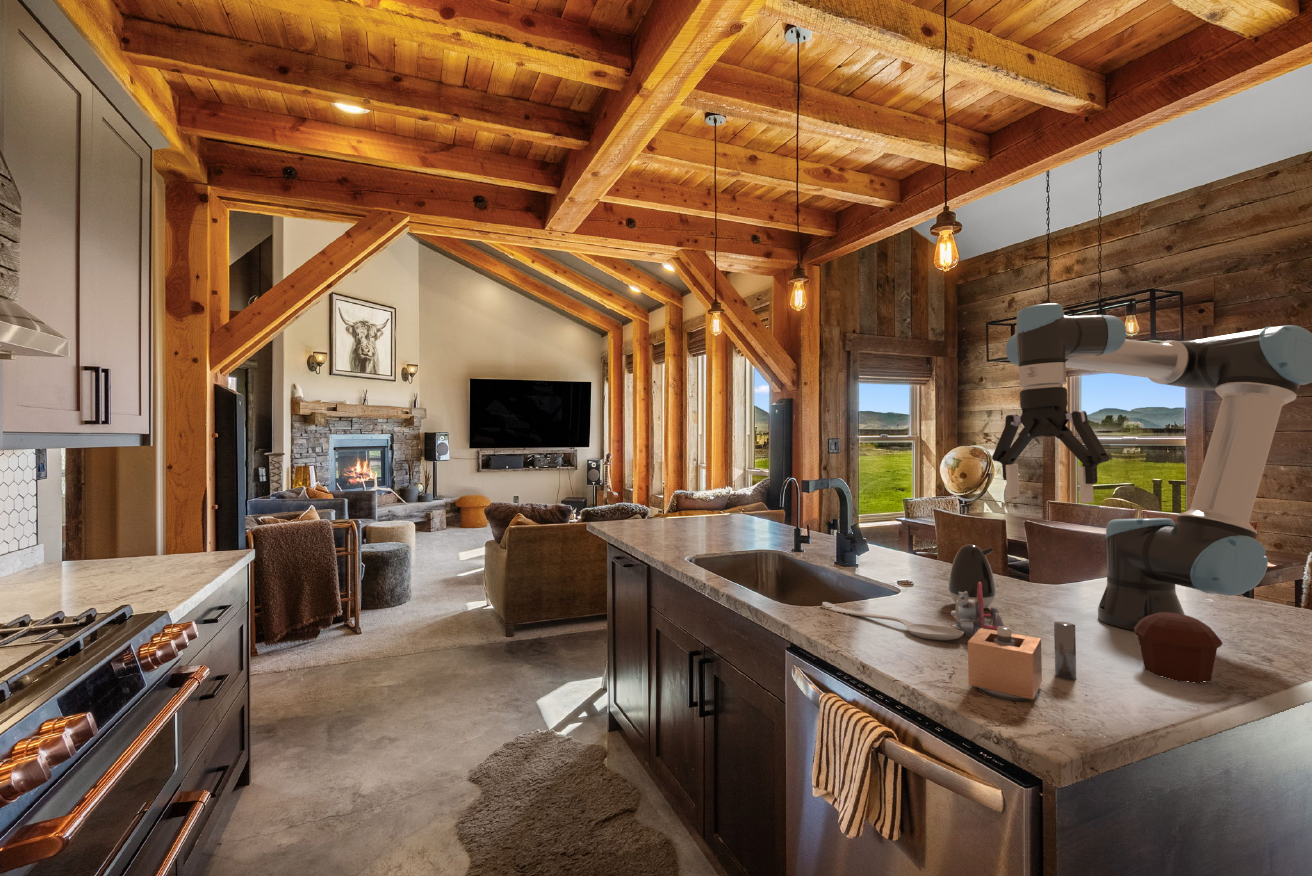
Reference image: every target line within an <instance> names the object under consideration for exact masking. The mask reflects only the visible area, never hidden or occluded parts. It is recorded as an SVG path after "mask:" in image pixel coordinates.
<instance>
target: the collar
mask: <svg viewBox="0 0 1312 876" xmlns="http://www.w3.org/2000/svg"><path fill="white" fill-rule="evenodd" d="M994 638H997V631H995V630H989V629H983V628H980V629H979V630H978V631H977V632H976V633H975V634H974V636H973V637H972V638H969V640H968V641H967V666H968V671H967V673H968V685H969V686H972V687H975V686H976V687H981V688H985V689H990V690H994V691H998V692H1003V693H1007V694H1011V695H1016V696H1020V697H1025V698H1029V699H1034V697H1035V695H1036V693H1037V690H1038V691H1039V688H1040V686H1041V684H1042V681H1043V673H1042V672H1043V670H1042V669H1043V668H1042V667H1043V662H1042V638H1041V637H1035V636H1028V635H1024V634H1017V633H1012V632H1011V639H1012V640H1014V641H1015V647H1014V646H1009V645H1003V644H998V643H994ZM976 687H975V688H976ZM1034 700H1035V699H1034Z"/></svg>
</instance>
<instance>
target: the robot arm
mask: <svg viewBox="0 0 1312 876" xmlns="http://www.w3.org/2000/svg"><path fill="white" fill-rule="evenodd" d="M1015 328H1016V331H1015V333H1014V334H1013V335H1012V336H1010V337H1009V339H1007V341H1006V346H1005V355H1006V358H1007V359H1008V360H1009V362H1010V363H1012V364H1013V365H1015V366H1017V367H1018V380H1019V382H1018V383H1019V387H1020V388H1023V389H1022V390H1021V389H1020V390H1021V391H1020V392H1019V402H1020V403H1019V405H1020V406H1019V407H1020V409H1021V415H1018V414H1007V415H1006V416H1005V420H1004V422H1005V423H1004V427H1003V431H1002V433H1001V435H1000V438H999V440H998V442H997V445H996V447H995V449H994V452H993V455H992V456H991V459H992V461H993V462H998V463H1000V464H1001V466H1002V469H1001V470H1002V478H1003V481H1006V496H1007V498H1010V499H1011V498H1019V497H1020V496H1021V495H1020V493H1021V492H1020V477H1019V476H1020V474H1019V463H1017V462H1016V460H1017V459H1018V458H1019V456H1020V455H1021V454H1022V452H1023V451H1024V450H1025V449H1026V447H1027V446H1028V445H1029V444H1030V442H1031V441H1032V440H1034V439H1035V438H1040V437H1044V438H1045V437H1046V438H1048V437H1050V438H1051V437H1055V439H1056V438H1057V439H1059V441H1060V442H1062V443H1063V445H1064V446H1065V447H1066V448H1067V449H1068V450H1069V451H1070V453H1072V454H1073V456H1075V457H1076V458H1077V459H1078V460H1079V462H1081V465H1079V466H1078V485H1079V486H1078V489H1079V504H1087V503H1093V502H1095V501H1094V485H1095V484H1098V466H1099V465H1100V464H1103V463H1106V462H1109V461H1110V457H1109V455H1108V453H1107V451H1106V450H1105V448H1104V446H1103V445H1102V443H1101V441H1100V440H1099V438H1098V437H1097V436H1098V435H1097V434H1096V433H1095V432H1094V430H1093V428H1092V427H1091V424H1090V423H1089V419H1088V414H1087V411H1085V410H1073V411H1072V412H1068V410H1067V407H1068V405H1069V404H1068V401H1069V400H1068V389H1067V388H1066V387H1065V386H1064V385H1066V384H1067V383H1068V382H1067V368H1068V369H1074V370H1082V371H1083V370H1084V371H1092V372H1098V373H1099V372H1101V373H1108V374H1116V375H1124V376H1130V377H1131V376H1132V377H1138V378H1139V377H1141V378H1148V379H1149V381H1151V382H1153V383H1156V384H1158V385H1167V386H1172V387H1173V386H1174V387H1178V388H1179V387H1180V388H1188V389H1195V390H1201V391H1202V390H1203V391H1214V392H1215V393H1216V394H1217V395H1218V396H1219V397H1220V398H1221V403H1220V405H1219V406H1220V407H1219V410H1218V413H1217V417H1216V420H1215V423H1214V427H1213V431H1212V434H1211V437H1210V441H1209V444H1208V447H1207V451H1206V453H1205V454H1206V455H1205V458H1204V461H1203V464H1202V468H1201V471H1200V475H1199V479H1198V481H1197V484H1196V488H1195V492H1194V496H1193V499H1192V501H1191V502H1192V503H1191V505H1190V508H1189V509H1188V510H1186V511H1185V512H1182V513H1179V514H1178V515H1177V518H1176V520H1175V521H1174V520H1173V519H1172V518H1166V517H1156V518H1155V517H1153V518H1151V517H1149V518H1117V519H1116V518H1115V519H1111V520H1109V521H1108V522H1107V524H1106V527H1105V529H1106V530H1105V536H1104V539H1105V559H1106V561H1105V562H1106V586H1105V589H1104V591H1103V594H1102V597H1101V600H1100V602H1099V604H1098V607H1097V618H1098V620H1099V621H1101V622H1103V623H1104V624H1108V625H1110V626H1113V627H1116V628H1121V629H1124V630H1130V631H1134V627H1135V626H1136V625H1137V623H1138V622H1139V621H1140V620H1141V619H1142V618H1144V617H1146V616H1149V615H1152V614H1155V613H1160V612H1170V613H1178V614H1183V615H1186V614H1185V611H1184V609H1183V607H1182V604H1181V602H1180V600H1179V598H1178V595H1177V592H1176V585H1177V586H1182V587H1186V588H1190V589H1193V590H1198V591H1201V592H1203V593H1206V594H1210V595H1211V594H1217V595H1222V596H1225V597H1226V596H1229V597H1232V596H1240V595H1243V594H1245V593H1246V592H1250V591H1252V590H1253V589H1254V588H1255V587H1257V586H1258V585H1259V584H1260V583H1261V582H1262V580H1263V578H1264V577H1265V574H1266V573H1267V569H1268V564H1269V563H1268V562H1269V560H1268V557H1267V556H1266V553H1267V551H1266V548H1265V547H1264V546H1263V544H1262V543H1260V541H1258V540H1256V538H1257V536H1258V531H1257V530H1256V529H1255V528H1254V527H1253V526H1252V525H1251V523H1250V518H1251V516H1252V513H1253V509H1254V507H1255V501H1256V498H1257V495H1258V491H1259V487H1260V485H1261V482H1262V481H1261V480H1262V478H1263V474H1264V470H1265V467H1266V465H1267V460H1268V457H1269V453H1270V450H1271V447H1272V443H1273V439H1274V437H1275V432H1276V429H1277V425H1278V422H1279V418H1280V415H1281V411H1282V408H1283V407H1284V406H1285V405H1287V404H1289V403H1291V402H1293V401H1295V400H1296V399H1297V396H1298V393H1299V390H1300V386H1305V385H1308V384H1311V383H1312V332H1310V331H1309V330H1308V329H1306V328H1304V327H1302V326H1299V325H1292V324H1288V325H1279V326H1278V325H1277V326H1266V327H1264V328H1261V329H1254V330H1248V331H1242V332H1236V333H1231V334H1224V335H1216V336H1211V337H1206V338H1198V339H1194V340H1172V339H1171V340H1164V341H1161V342H1159V343H1157V342H1150V341H1143V340H1134V339H1127V327H1126V324H1125V323H1124V321H1123V320H1122V319H1121V318H1119V316H1115V315H1107V314H1106V315H1104V314H1102V313H1100V314H1097V315H1095V314H1094V315H1071V316H1070V315H1065V312H1064V307H1063V305H1062V304H1059V303H1056V302H1055V303H1041V304H1035V305H1031V306H1027V307H1024V308H1022V309H1020V310H1019V311H1018V312H1017V315H1016V327H1015ZM1068 422H1070V423H1071V424H1072V425H1073V427H1074V428H1075V431H1076V432H1077V434H1078V436H1079V437H1080V439H1081V441H1082V442H1081V441H1080V440H1079V439H1078V438H1077V437H1076V436H1075V435H1074V434H1073V433H1074V432H1073V431H1072V430H1071V429H1070V428H1069V427H1068V426H1067V424H1068ZM1020 425H1023V428H1022V429H1021V431H1020V432H1019V433H1018V437H1017V438H1016V439H1015V437H1016V434H1017V432H1018V430H1019V426H1020ZM1014 439H1015V441H1014ZM1082 443H1083V444H1082Z"/></svg>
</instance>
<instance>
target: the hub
mask: <svg viewBox="0 0 1312 876" xmlns="http://www.w3.org/2000/svg"><path fill="white" fill-rule="evenodd" d="M1011 633H1012V628H1011V627H1008V626H1005V625H1004V626H999V627H997V638H994V643H998V644H1003V645H1009V646H1014V647H1015V641H1014V640H1012V639H1011ZM974 687H975V689H976V690H978V691H979V692H981V693H983V695H984V694H985V695H987V696H990V697H992V698H996V699H1000V700H1006V701H1011V702H1029V701H1033V700H1034V701H1035V700H1036V699H1037V698H1038V697H1039V689H1038V690H1037V693H1036V695H1035V697H1034V699H1029V698H1025V697H1020V696H1016V695H1011V694H1007V693H1003V692H998V691H994V690H990V689H985V688H981V687H976V686H974Z"/></svg>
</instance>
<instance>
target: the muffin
mask: <svg viewBox="0 0 1312 876" xmlns="http://www.w3.org/2000/svg"><path fill="white" fill-rule="evenodd" d="M1133 631H1134V632H1135V634H1136V636H1137V637H1138V644H1139V647H1140V653H1141V656H1142V657H1141V658H1142V663H1143V667H1144V670H1145V671H1147V672H1150V673H1152V675H1155V676H1156V675H1157V676H1156V677H1160V676H1163V677H1162V678H1164V677H1166V678H1165V679H1168V678H1170V679H1169V680H1171V679H1173V680H1172V681H1175V680H1177V681H1176V682H1181V681H1189V682H1188V683H1191V682H1195V683H1194V684H1201V683H1200V682H1203V681H1212V677H1213V671H1214V668H1215V667H1214V665H1215V661H1216V655H1217V649H1218V648H1220V647H1221V646H1223V645H1224V644H1223V642H1222V640H1221V639H1220V637H1219V636H1218V635H1217V634H1216V632H1215V631H1214V630H1213V629H1212V628H1211V627H1210V626H1209V625H1207V624H1206V623H1204V622H1203V621H1201V620H1199V619H1197V618H1195V617H1193V616H1190V615H1186V614H1185V615H1183V614H1178V613H1170V612H1160V613H1155V614H1152V615H1149V616H1146V617H1144V618H1142V619H1141V620H1140V621H1139V622H1138V623H1137V625H1136V626H1135V627H1134V630H1133ZM1203 683H1204V682H1203Z"/></svg>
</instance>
